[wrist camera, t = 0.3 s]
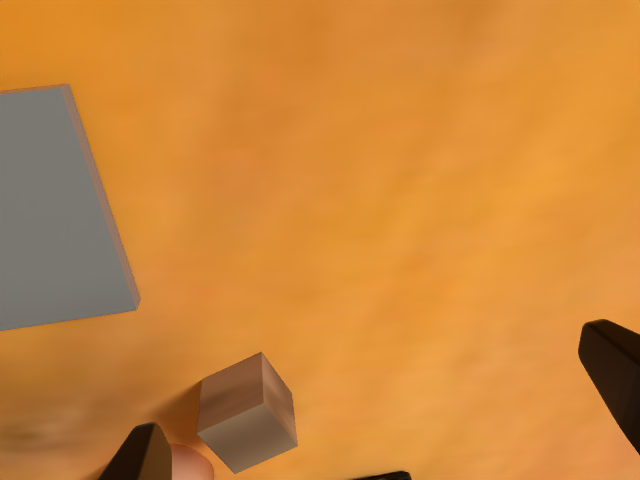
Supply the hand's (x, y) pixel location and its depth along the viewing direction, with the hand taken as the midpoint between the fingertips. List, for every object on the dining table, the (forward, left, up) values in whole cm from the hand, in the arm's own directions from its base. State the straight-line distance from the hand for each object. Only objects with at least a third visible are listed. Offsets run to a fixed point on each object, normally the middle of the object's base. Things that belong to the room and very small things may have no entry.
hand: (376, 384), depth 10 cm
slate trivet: (-1, +15, -15) cm, 21 cm away
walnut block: (-14, +5, -15) cm, 21 cm away
